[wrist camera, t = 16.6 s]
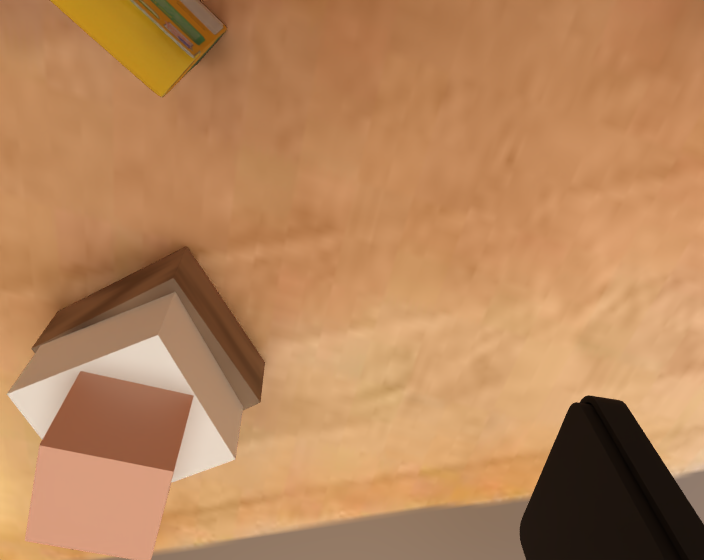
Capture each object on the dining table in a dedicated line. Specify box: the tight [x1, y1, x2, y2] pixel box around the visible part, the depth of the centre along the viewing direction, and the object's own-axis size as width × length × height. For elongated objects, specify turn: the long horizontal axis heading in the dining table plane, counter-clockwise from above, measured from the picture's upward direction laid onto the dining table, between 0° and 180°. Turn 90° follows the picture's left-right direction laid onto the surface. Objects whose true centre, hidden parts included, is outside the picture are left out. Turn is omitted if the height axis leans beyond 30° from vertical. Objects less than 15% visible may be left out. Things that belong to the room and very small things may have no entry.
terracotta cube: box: [25, 371, 194, 560], centre depth 34 cm, size 6×6×6 cm
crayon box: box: [50, 0, 227, 97], centre depth 32 cm, size 7×3×12 cm, turn 45°
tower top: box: [7, 292, 243, 483], centre depth 39 cm, size 9×9×5 cm
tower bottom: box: [32, 247, 265, 410], centre depth 44 cm, size 10×10×5 cm
